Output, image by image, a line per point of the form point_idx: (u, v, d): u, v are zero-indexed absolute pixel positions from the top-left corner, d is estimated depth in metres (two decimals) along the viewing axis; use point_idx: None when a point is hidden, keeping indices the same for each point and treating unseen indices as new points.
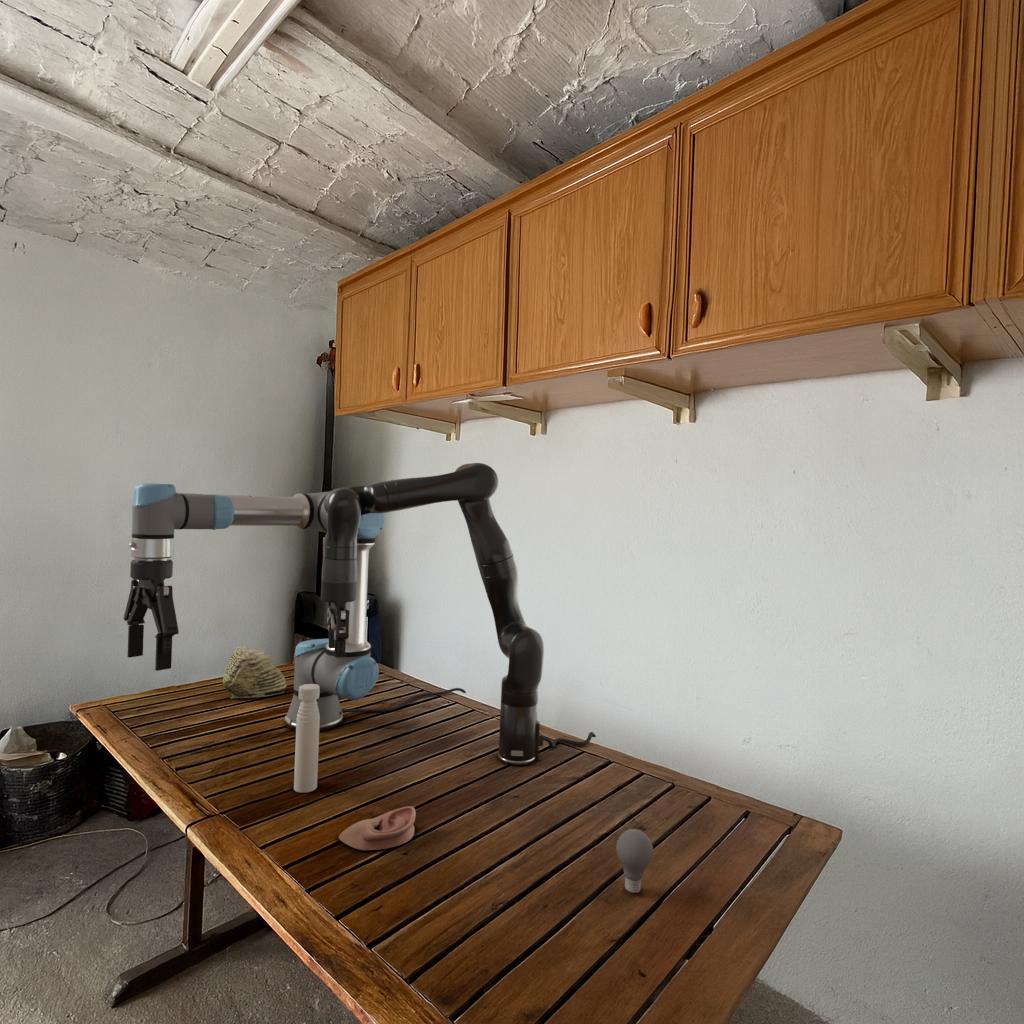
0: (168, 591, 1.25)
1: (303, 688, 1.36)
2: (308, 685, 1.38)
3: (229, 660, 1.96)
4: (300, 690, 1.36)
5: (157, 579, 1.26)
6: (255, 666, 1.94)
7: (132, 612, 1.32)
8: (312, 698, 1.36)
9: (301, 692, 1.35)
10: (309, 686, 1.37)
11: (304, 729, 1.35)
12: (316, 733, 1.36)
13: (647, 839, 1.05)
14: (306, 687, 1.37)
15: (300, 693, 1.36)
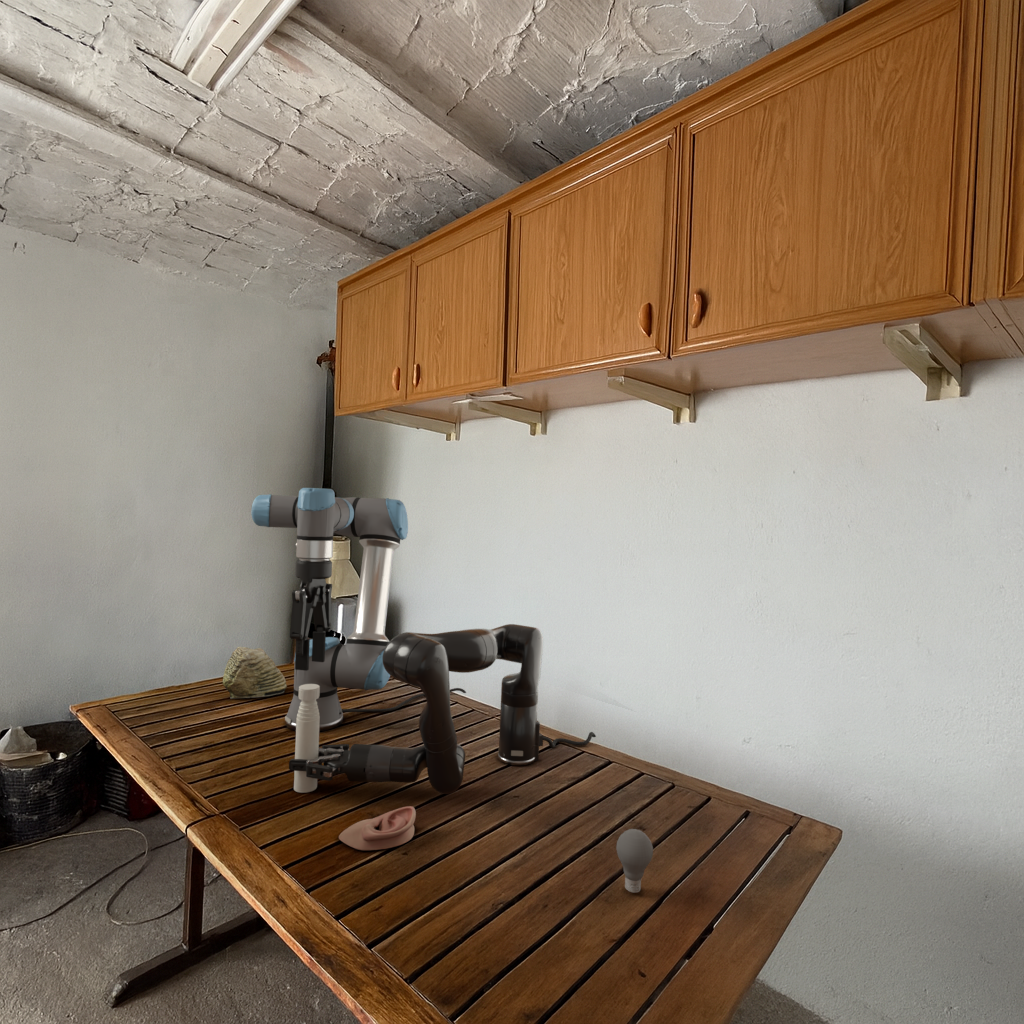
0: (299, 597, 1.30)
1: (303, 688, 1.36)
2: (308, 685, 1.38)
3: (229, 660, 1.96)
4: (300, 690, 1.36)
5: (303, 579, 1.33)
6: (255, 666, 1.94)
7: None
8: (312, 698, 1.36)
9: (301, 692, 1.35)
10: (309, 686, 1.37)
11: (304, 729, 1.35)
12: (316, 733, 1.36)
13: (647, 839, 1.05)
14: (306, 687, 1.37)
15: (300, 693, 1.36)
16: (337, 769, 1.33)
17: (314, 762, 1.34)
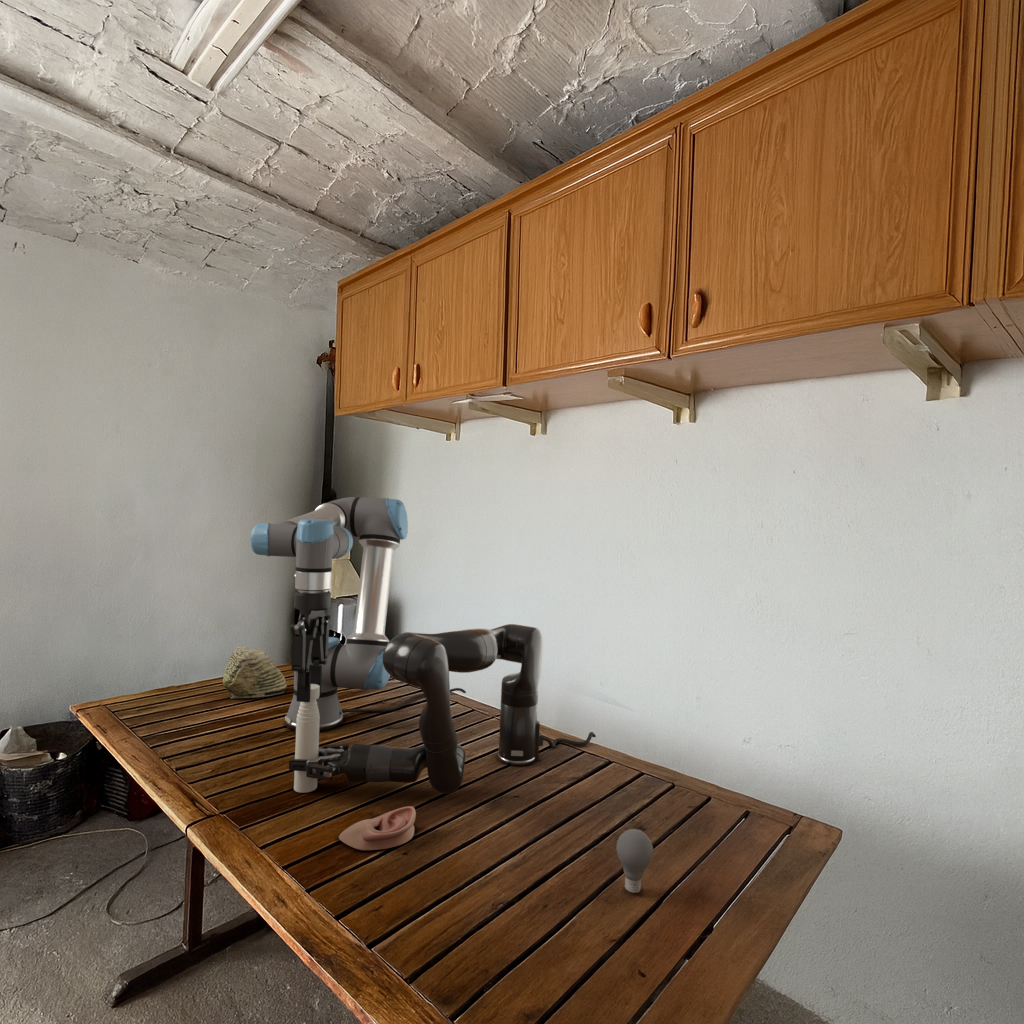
0: (298, 631, 1.31)
1: None
2: None
3: (229, 660, 1.96)
4: None
5: (302, 610, 1.33)
6: (255, 666, 1.94)
7: None
8: (312, 698, 1.36)
9: None
10: None
11: (304, 729, 1.35)
12: (316, 733, 1.36)
13: (647, 839, 1.05)
14: None
15: None
16: (337, 769, 1.33)
17: (314, 762, 1.34)
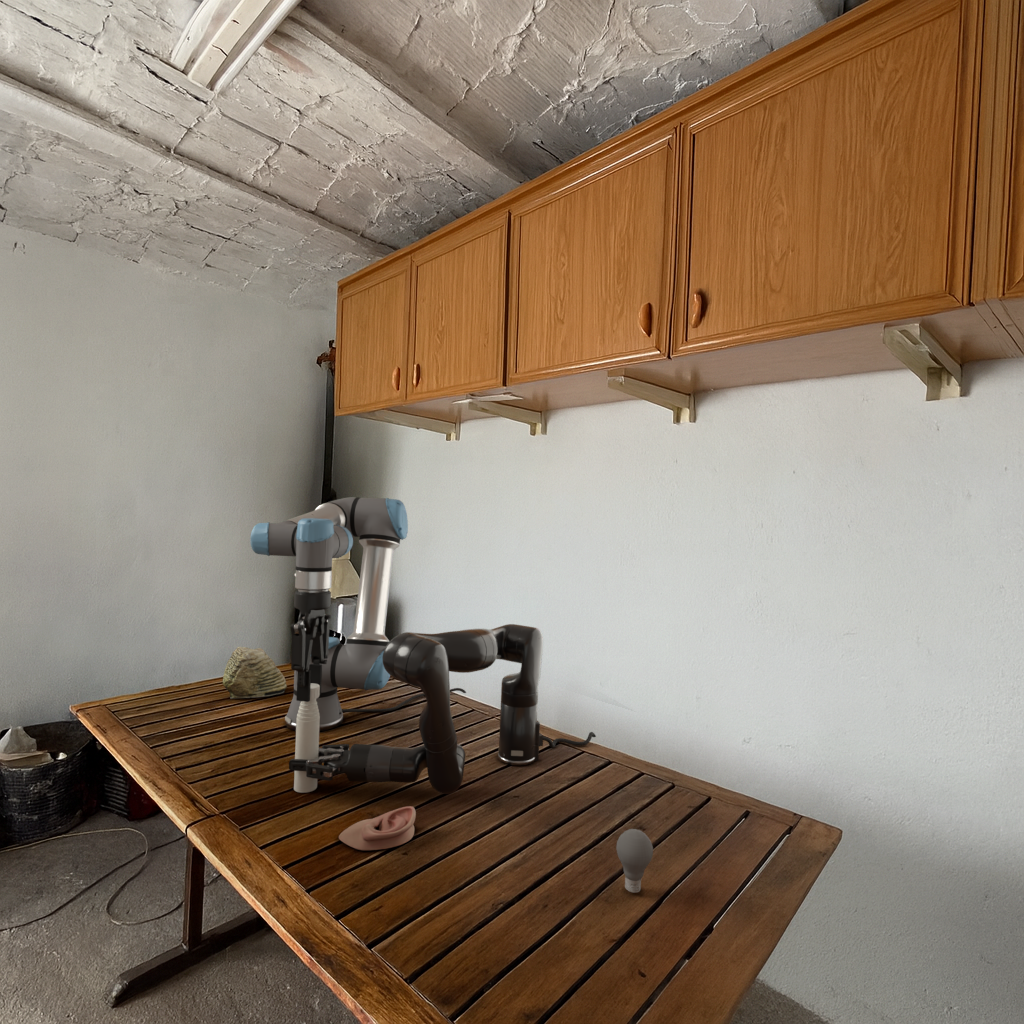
0: (298, 630, 1.31)
1: (317, 686, 1.37)
2: None
3: (229, 660, 1.96)
4: (318, 688, 1.37)
5: (302, 610, 1.33)
6: (255, 666, 1.94)
7: None
8: None
9: (319, 689, 1.37)
10: None
11: (304, 729, 1.35)
12: (316, 733, 1.36)
13: (647, 839, 1.05)
14: (312, 686, 1.37)
15: (318, 691, 1.37)
16: (337, 769, 1.33)
17: (314, 762, 1.34)
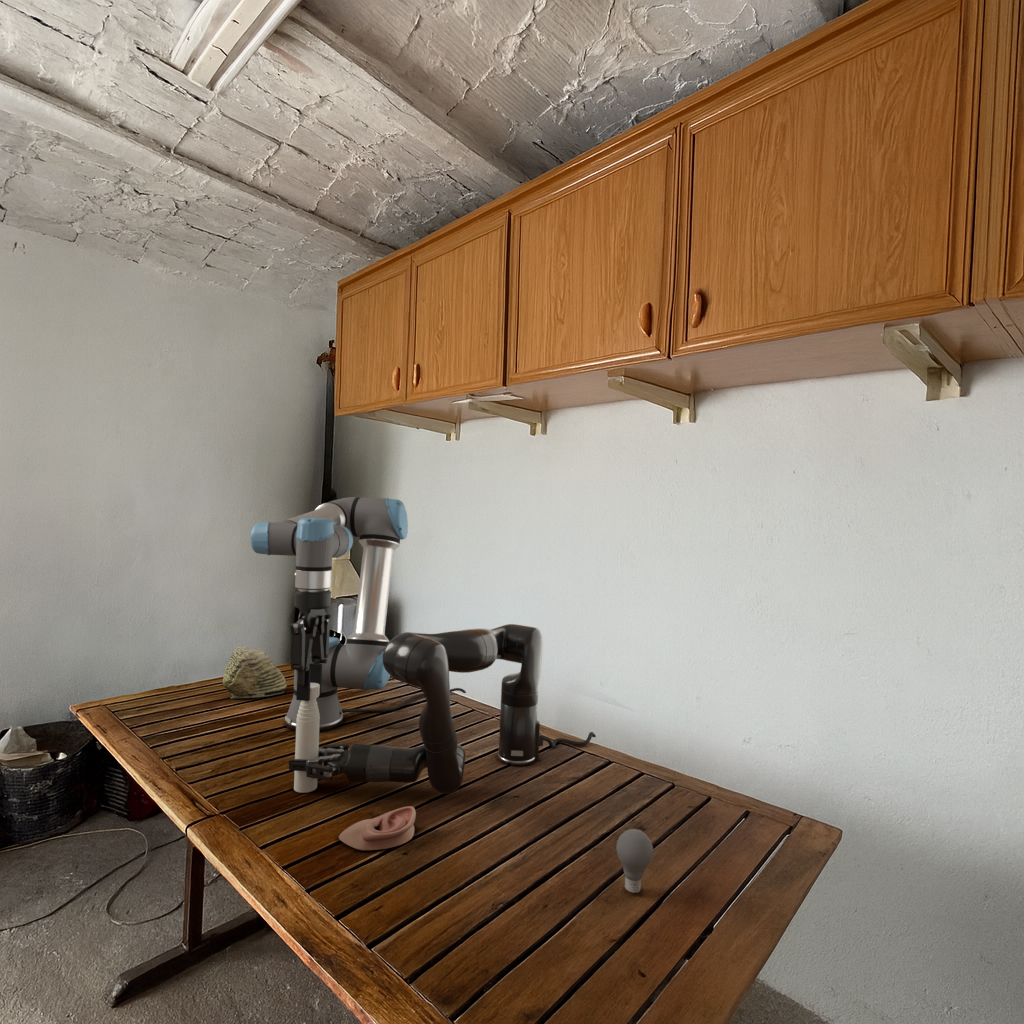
0: (297, 630, 1.31)
1: None
2: (313, 685, 1.37)
3: (229, 660, 1.96)
4: None
5: (301, 609, 1.33)
6: (255, 666, 1.94)
7: None
8: None
9: None
10: (310, 685, 1.37)
11: (304, 729, 1.35)
12: (316, 733, 1.36)
13: (647, 839, 1.05)
14: None
15: None
16: (337, 769, 1.33)
17: (314, 762, 1.34)
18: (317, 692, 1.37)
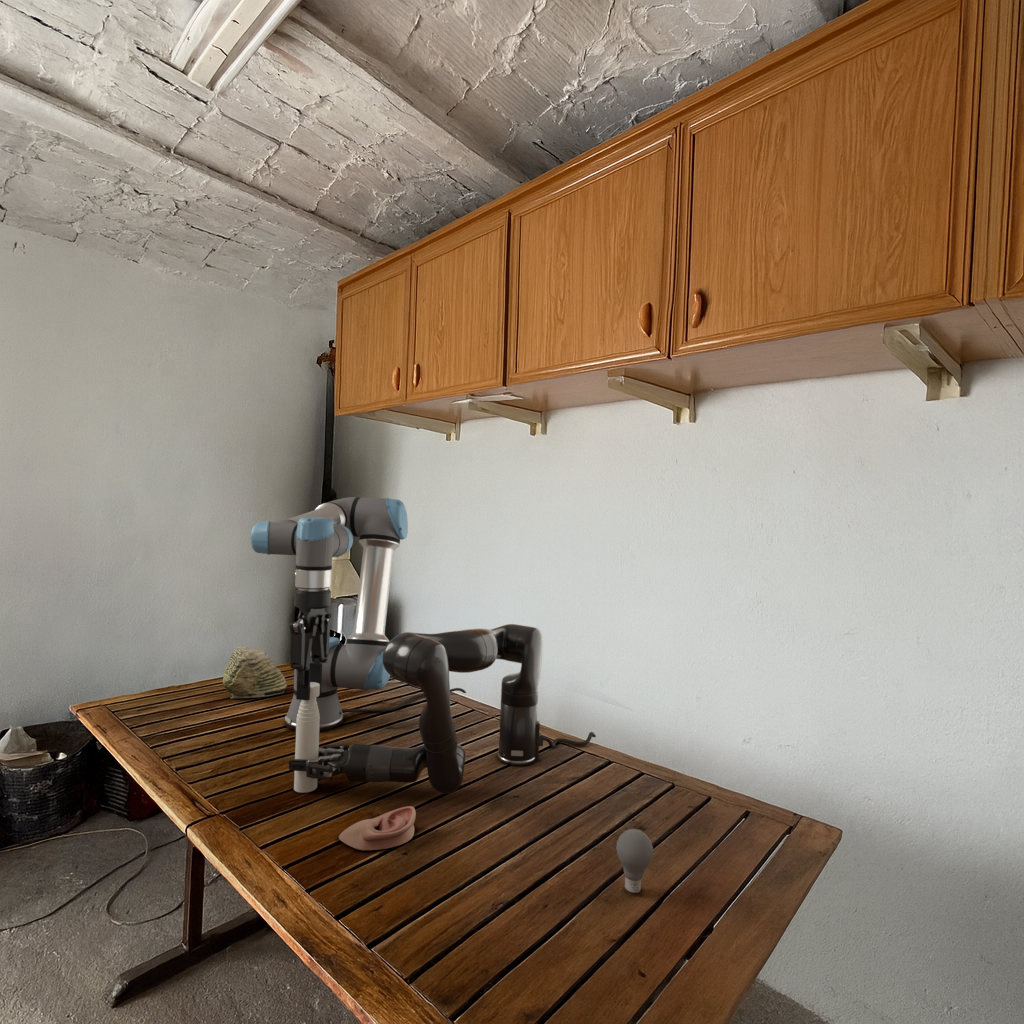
0: (297, 629, 1.31)
1: None
2: None
3: (229, 660, 1.96)
4: None
5: (301, 608, 1.33)
6: (255, 666, 1.94)
7: None
8: (314, 696, 1.36)
9: None
10: None
11: (304, 729, 1.35)
12: (316, 733, 1.36)
13: (647, 839, 1.05)
14: None
15: None
16: (337, 769, 1.33)
17: (314, 762, 1.34)
18: None
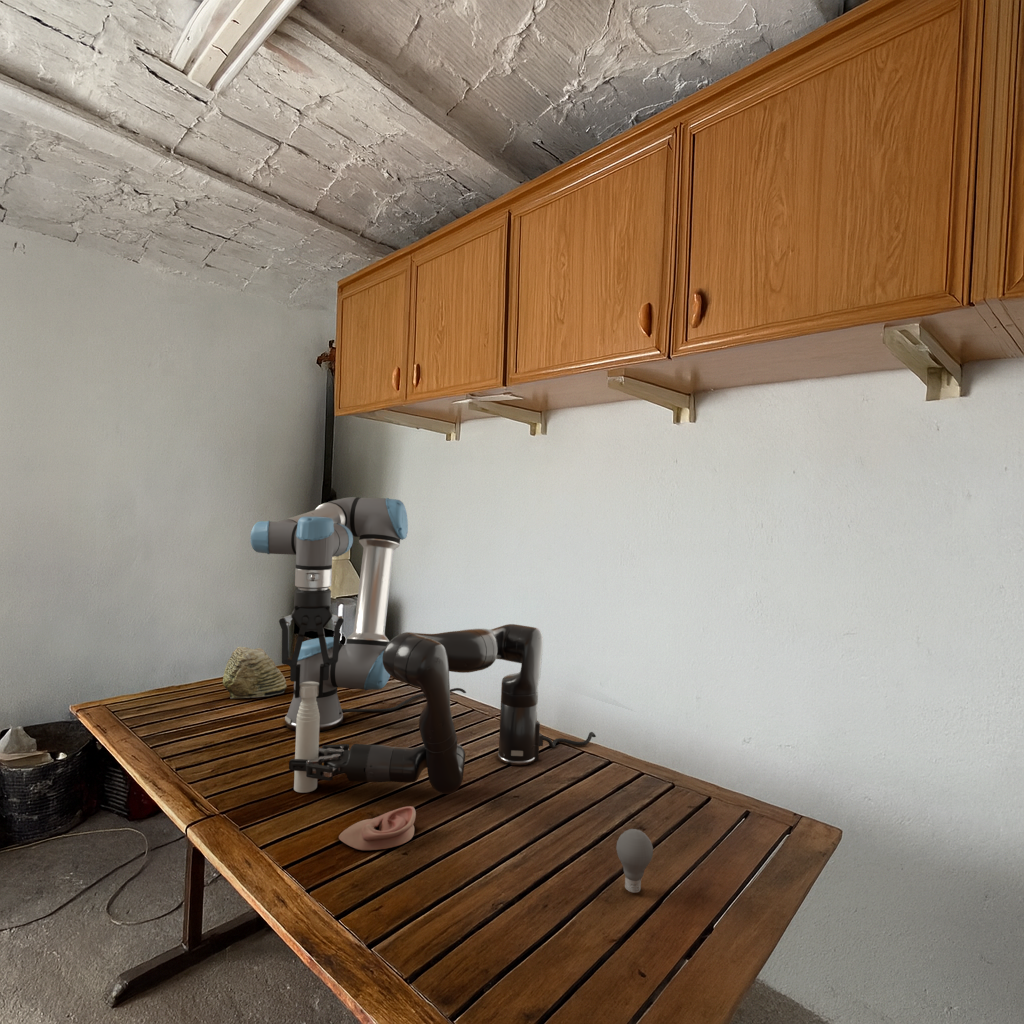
0: None
1: (317, 684, 1.37)
2: (306, 685, 1.36)
3: (229, 660, 1.96)
4: (318, 686, 1.37)
5: None
6: (255, 666, 1.94)
7: (297, 650, 1.35)
8: None
9: None
10: (308, 684, 1.37)
11: (304, 729, 1.35)
12: (316, 733, 1.36)
13: (647, 839, 1.05)
14: (312, 684, 1.37)
15: (318, 689, 1.37)
16: (337, 769, 1.33)
17: (314, 762, 1.34)
18: (300, 691, 1.36)
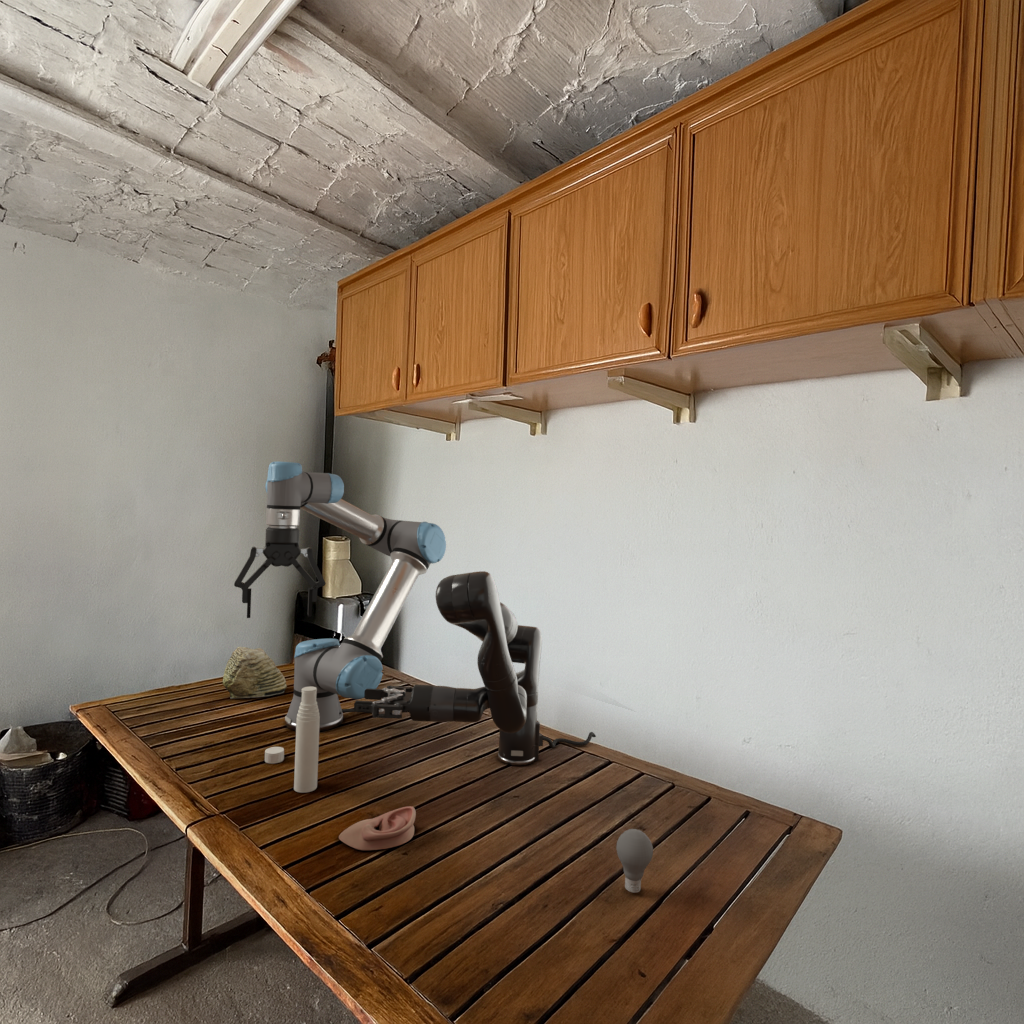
0: None
1: (281, 749, 1.51)
2: (272, 751, 1.50)
3: (229, 660, 1.96)
4: (283, 752, 1.51)
5: (298, 543, 1.51)
6: (255, 666, 1.94)
7: (255, 576, 1.47)
8: None
9: (283, 752, 1.52)
10: (274, 750, 1.51)
11: (304, 729, 1.35)
12: (316, 733, 1.36)
13: (647, 839, 1.05)
14: (277, 750, 1.51)
15: (283, 754, 1.51)
16: (402, 707, 1.33)
17: (380, 702, 1.32)
18: (266, 757, 1.49)
